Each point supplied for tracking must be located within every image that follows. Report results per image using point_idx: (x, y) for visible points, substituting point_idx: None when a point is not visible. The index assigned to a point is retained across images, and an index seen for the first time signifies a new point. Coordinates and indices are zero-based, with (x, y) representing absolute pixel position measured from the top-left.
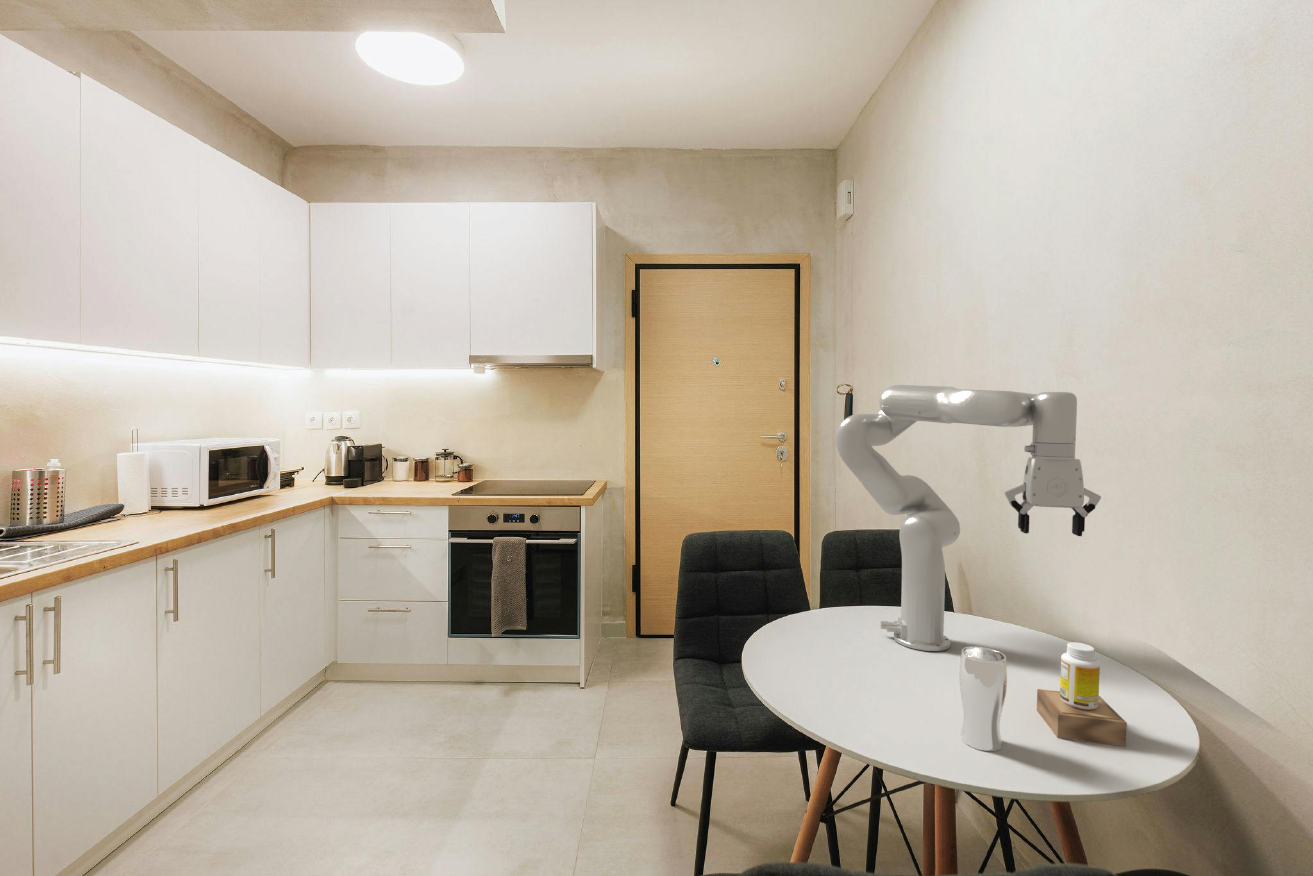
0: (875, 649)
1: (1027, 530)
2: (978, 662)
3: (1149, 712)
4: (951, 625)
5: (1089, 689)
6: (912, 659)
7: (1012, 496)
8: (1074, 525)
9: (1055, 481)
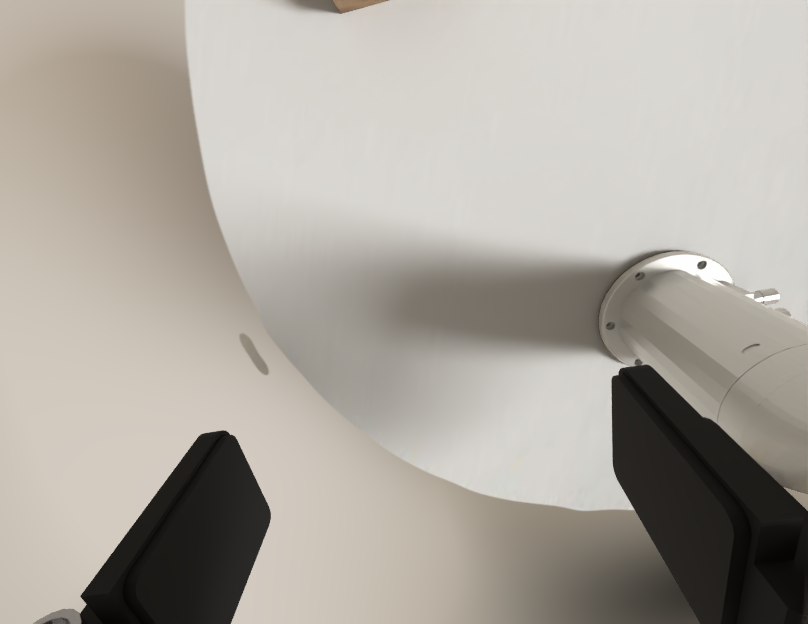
0: (795, 209)
1: (641, 376)
2: None
3: (244, 112)
4: (571, 440)
5: None
6: (710, 183)
7: None
8: (227, 549)
9: None
